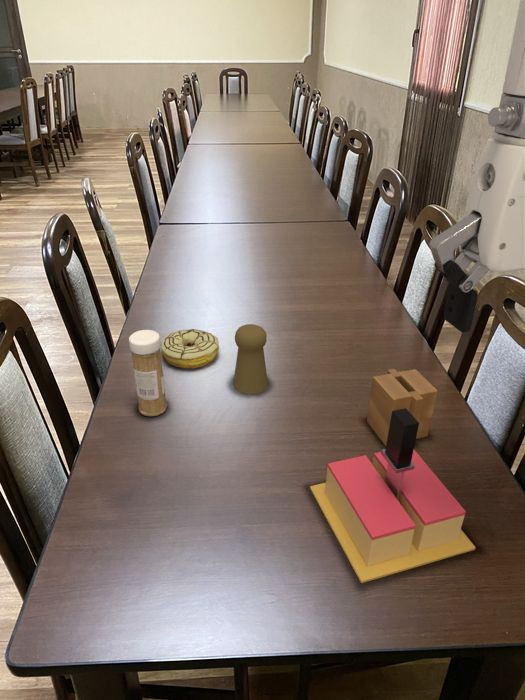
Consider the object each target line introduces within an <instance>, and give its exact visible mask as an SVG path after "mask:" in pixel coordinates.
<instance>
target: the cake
mask: <svg viewBox="0 0 525 700" xmlns="http://www.w3.org/2000/svg"><path fill="white" fill-rule="evenodd" d="M411 462H412V463H413V464H414V465H415V467H414V469H413V470H409V471H405V472H404V476H403V481H402V486H401V490H400V495H399V500H397V498H396V497H395V496H394V494H393V493H392V491H391V490H390V489H389V487H388V486H387V484H386V483H385V476H386V471H387V465H388V462H387V461H386V460H385V458H384V457H383V456H382V454H381V451H378V452H374V453H373V459H372V462H371V460H370V459H369V457H368V456H367V454H364V455H360V456H355V457H350V458H346V459H342V460H338V461H333V462H330V463H327V467H326V477H325V482H322V483H318V484H315V485H310V486H309V490H310V492H311V493H312V495H313V497H314V499H315V501H316V502H317V505H318V506H319V509H320V510H321V512H322V513H323V516H324V518H325V519H326V521H327V523H328V525H329V527H330V529H331V530H332V532H333V534H334V536H335V538H336V540H337V542H338V544H339V546H340V547H341V549H342V551H343V552H344V555H345V556H346V558H347V560H348V562H349V564H350V565H351V568H352V569H353V571H354V574H355V575H356V577H357V579H358V580H359V582H360V584H364V583H367V582H372V581H374V580H377V579H381V578H384V577H388V576H392V575H394V574H398V573H401V572H404V571H408V570H411V569H415V568H419V567H423V566H425V565H429V564H432V563H436V562H439V561H441V560H445V559H448V558H452V557H456V556H459V555H462V554H466V553H469V552H473V551H475V550H476V546H475V545H474V544H473V542H472V541H471V540H470V539H469V537H468V536H467V535H466V533H465V532H464V531H463V530H462V526H463V523H464V519H465V516H466V513H467V511H466V510H465V509H464V507H462V505H461V504H460V503H459V501H458V500H457V499H456V498H455V497H454V495H452V493H451V492H450V491H449V489H448V488H447V487H446V486H445V485H444V484H443V482H442V481H441V480H440V479H439V477H437V475H436V474H435V473H434V472H433V469H431V468H430V466H428V464H427V463H426V462H425V461H424V460H423V458H422V457H421V456H420V455H419V453H418V452H417V451H416V450H415V449H414V451H413V455H412V460H411Z"/></svg>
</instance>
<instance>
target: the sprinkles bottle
mask: <svg viewBox="0 0 525 700" xmlns="http://www.w3.org/2000/svg"><path fill="white" fill-rule="evenodd" d="M161 343H162V340H161V335H160V334H159V333H158V332H157V331H155V330H152V329H142V330H137V331H135V332H133V333H131V334H130V336H129V337H128V345H129V350H130V353H131V359H132V369H133V375H134V376H133V377H134V383H135V391H136V395H137V403H138V412H139V413H140V414H141V415H143V416H145V417H156V416H159V415H162V414H163V413H165V412H166V410H167V408H168V403H167V401H166V386H165V385H166V384H165V378H164V377H165V376H164V371H163V363H162V352H161Z"/></svg>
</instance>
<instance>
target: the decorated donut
mask: <svg viewBox="0 0 525 700" xmlns="http://www.w3.org/2000/svg"><path fill="white" fill-rule="evenodd" d="M219 350H220V345H219V338H218V336H217V335H214V334H213V333H212V332H209V331H205V330H202V329H197V328H191V329H181V330H176V331H173V332H170V333H168V334H167V335H166V336H165V337H164V338H163V340H161V347H160V352H161V355H162V356H163V358H164V360H166V362H167V363H169V365H171V366H174V367H177V368H181V369H196V368H202V367H204V366H207V365H208V364H209V363H211V362H212V361H213V360H214V359H215V358H216V357H217V354H218V353H219Z"/></svg>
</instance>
